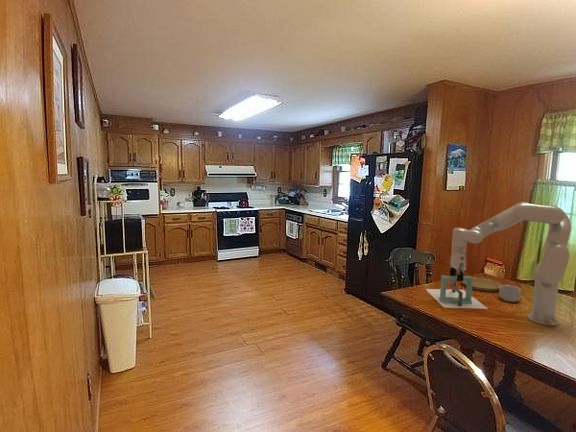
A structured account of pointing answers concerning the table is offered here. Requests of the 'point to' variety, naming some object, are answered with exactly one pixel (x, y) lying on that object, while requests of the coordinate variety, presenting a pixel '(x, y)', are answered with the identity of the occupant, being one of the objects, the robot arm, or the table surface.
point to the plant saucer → (484, 284)
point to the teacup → (509, 293)
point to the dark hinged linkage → (454, 289)
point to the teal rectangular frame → (454, 299)
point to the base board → (449, 293)
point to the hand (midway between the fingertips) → (456, 278)
